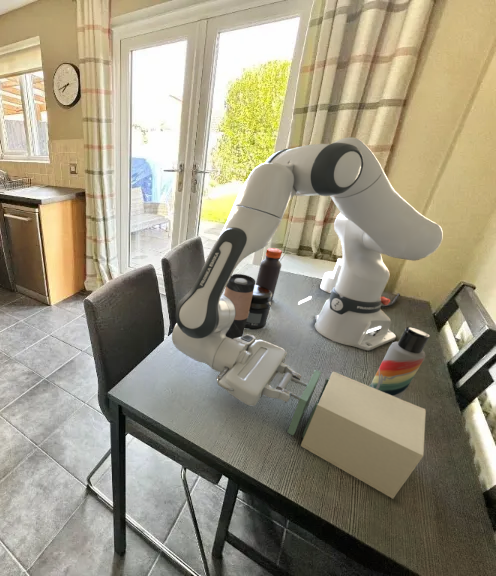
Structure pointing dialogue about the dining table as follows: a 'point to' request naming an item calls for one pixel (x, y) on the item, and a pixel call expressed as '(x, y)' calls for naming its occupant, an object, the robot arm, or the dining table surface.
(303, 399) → the green pull-out drawer
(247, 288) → the travel mug
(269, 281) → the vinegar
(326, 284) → the cylinder with rectangular tab
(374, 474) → the matchbox drawer box
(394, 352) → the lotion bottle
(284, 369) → the robot arm
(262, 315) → the supplement container
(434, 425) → the dining table surface
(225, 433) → the dining table surface
